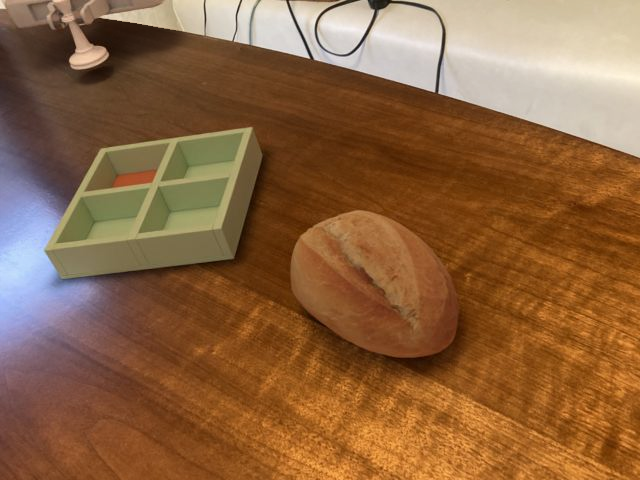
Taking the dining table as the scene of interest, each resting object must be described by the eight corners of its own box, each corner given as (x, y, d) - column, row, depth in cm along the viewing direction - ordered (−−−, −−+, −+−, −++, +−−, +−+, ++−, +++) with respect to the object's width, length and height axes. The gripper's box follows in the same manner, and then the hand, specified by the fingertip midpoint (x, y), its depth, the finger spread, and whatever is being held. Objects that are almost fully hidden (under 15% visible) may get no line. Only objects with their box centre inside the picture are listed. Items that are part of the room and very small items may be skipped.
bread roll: (397, 406, 52) (374, 323, 46) (270, 310, 61) (238, 231, 55) (494, 324, 55) (483, 238, 50) (361, 245, 65) (340, 166, 59)
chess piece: (97, 47, 101) (62, -30, 94) (115, 55, 98) (80, -24, 91) (64, 64, 99) (25, -14, 92) (81, 73, 96) (42, -7, 89)
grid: (61, 279, 69) (43, 250, 66) (114, 176, 80) (100, 148, 78) (234, 259, 66) (221, 228, 64) (262, 155, 78) (252, 126, 76)
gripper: (19, -35, 103) (-25, 9, 93) (164, -60, 100) (135, -18, 90) (42, 11, 107) (2, 57, 97) (181, -12, 105) (156, 33, 95)
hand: (67, 21), depth 94 cm, fingers closed on chess piece
